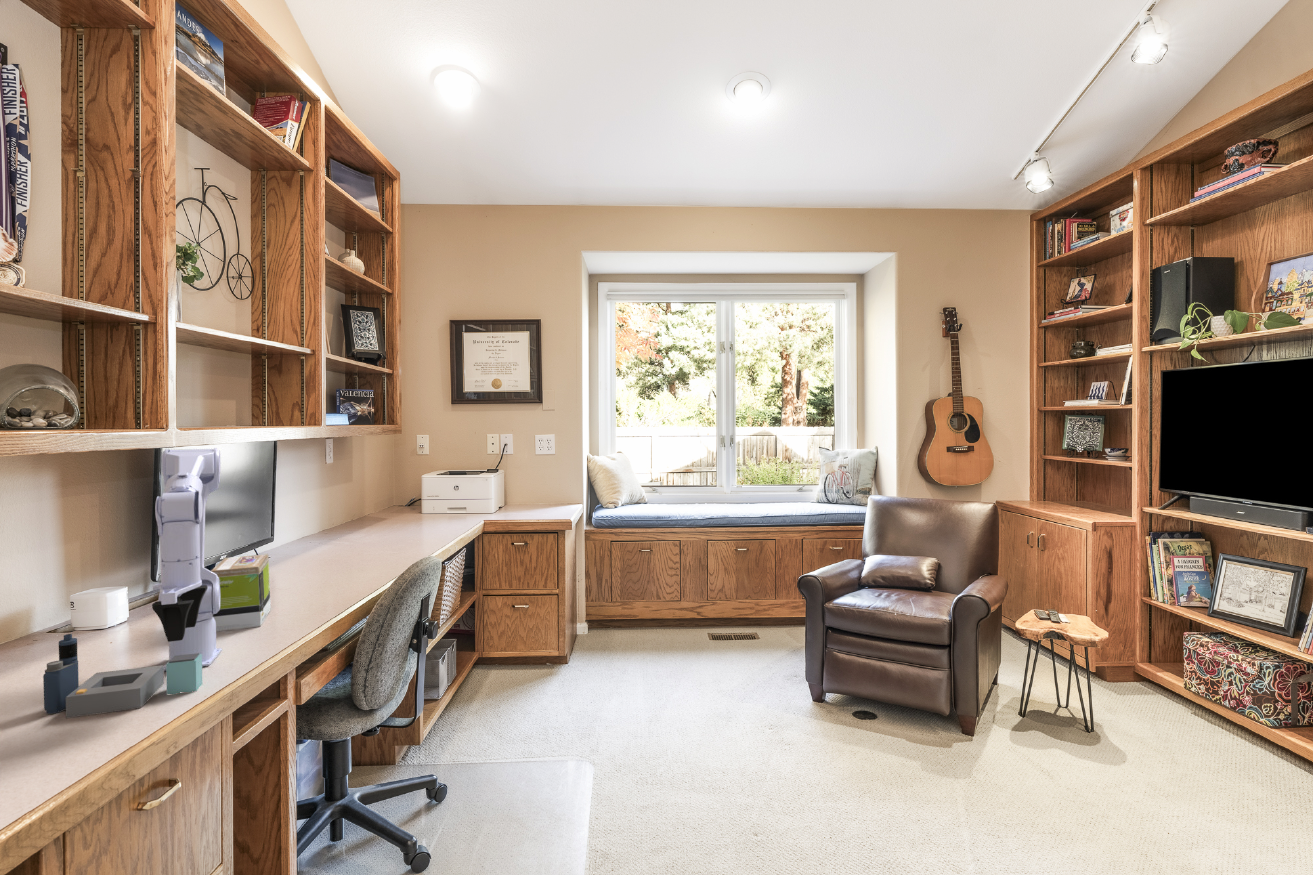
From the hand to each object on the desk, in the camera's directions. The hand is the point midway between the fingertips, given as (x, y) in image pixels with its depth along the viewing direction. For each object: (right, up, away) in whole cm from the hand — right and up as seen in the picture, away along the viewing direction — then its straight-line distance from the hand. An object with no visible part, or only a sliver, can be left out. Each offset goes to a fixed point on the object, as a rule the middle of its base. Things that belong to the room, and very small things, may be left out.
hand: (182, 633), depth 116 cm
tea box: (-15, -10, +41) cm, 45 cm away
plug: (0, -10, +1) cm, 10 cm away
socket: (-8, -10, -4) cm, 14 cm away
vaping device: (-15, -11, -7) cm, 20 cm away
